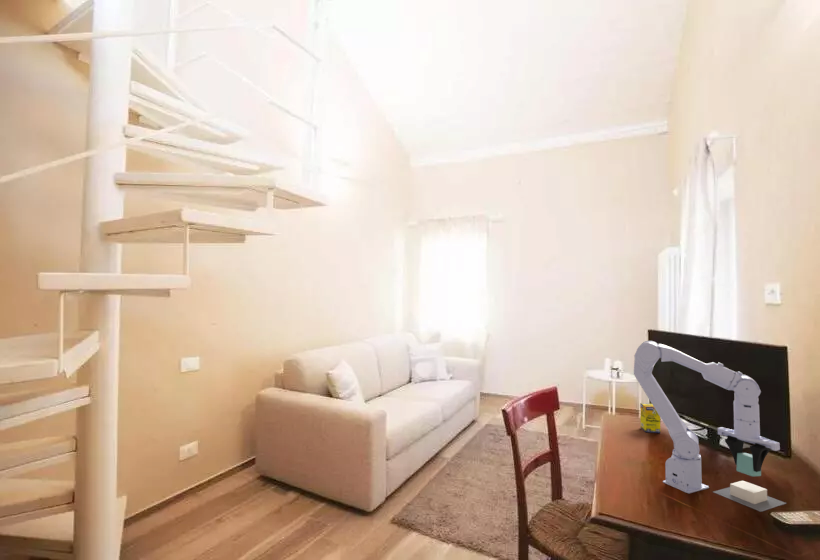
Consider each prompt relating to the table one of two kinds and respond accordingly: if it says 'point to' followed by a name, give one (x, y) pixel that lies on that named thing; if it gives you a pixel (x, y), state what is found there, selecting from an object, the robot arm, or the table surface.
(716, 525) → the table surface
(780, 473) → the table surface
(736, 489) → the cream slab
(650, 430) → the supplement box
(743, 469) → the teal block
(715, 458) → the table surface
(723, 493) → the grey flat square plate
